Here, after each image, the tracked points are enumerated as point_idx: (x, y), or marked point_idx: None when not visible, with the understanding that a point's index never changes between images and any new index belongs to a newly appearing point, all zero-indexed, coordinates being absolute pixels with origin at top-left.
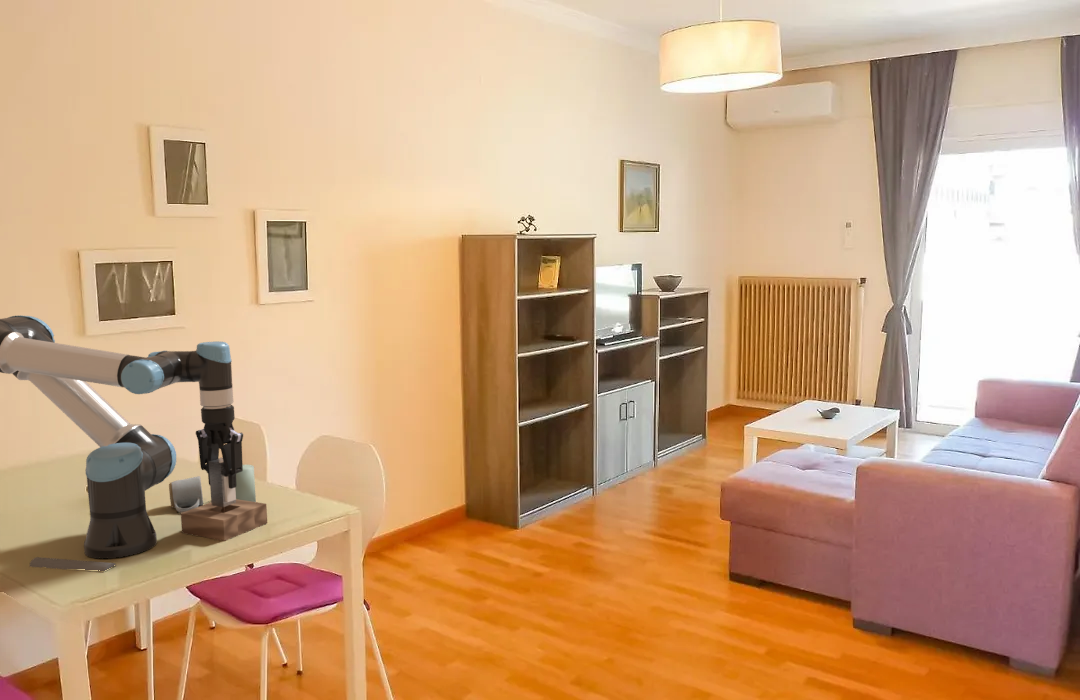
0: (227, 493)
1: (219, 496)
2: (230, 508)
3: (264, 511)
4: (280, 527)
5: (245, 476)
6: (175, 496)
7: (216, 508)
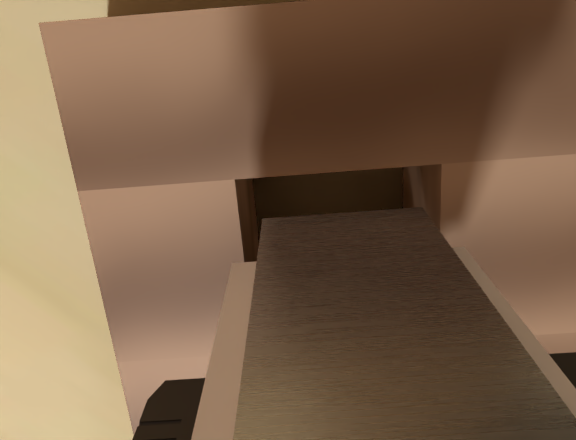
0: (220, 315)
1: (314, 259)
2: None
3: None
4: (43, 358)
5: None
6: None
7: None
